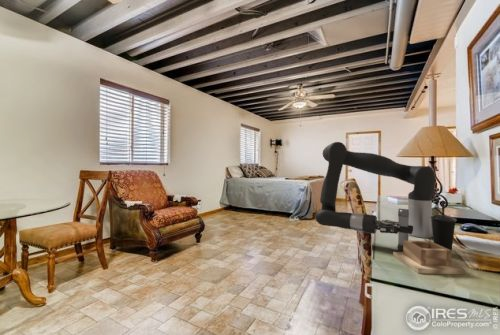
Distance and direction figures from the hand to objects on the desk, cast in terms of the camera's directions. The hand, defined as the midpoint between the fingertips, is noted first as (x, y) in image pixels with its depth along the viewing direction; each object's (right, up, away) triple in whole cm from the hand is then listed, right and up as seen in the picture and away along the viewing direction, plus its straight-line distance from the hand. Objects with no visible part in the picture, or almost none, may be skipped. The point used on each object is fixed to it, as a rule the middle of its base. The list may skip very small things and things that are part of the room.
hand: (412, 229), depth 89 cm
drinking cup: (+12, -9, 0) cm, 15 cm away
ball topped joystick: (-2, -9, +2) cm, 10 cm away
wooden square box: (-2, -9, -9) cm, 13 cm away
